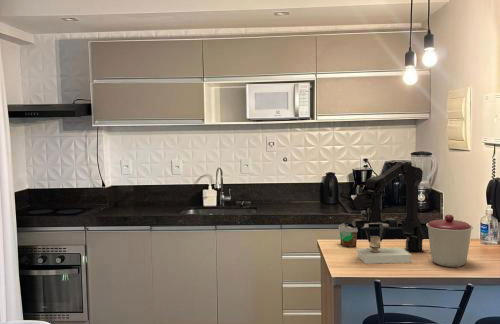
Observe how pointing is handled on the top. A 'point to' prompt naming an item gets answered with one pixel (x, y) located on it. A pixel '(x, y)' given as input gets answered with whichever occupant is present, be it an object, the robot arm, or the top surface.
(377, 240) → the peg
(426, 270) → the top surface
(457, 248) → the canister
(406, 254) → the board
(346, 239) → the food container
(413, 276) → the top surface
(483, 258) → the top surface
